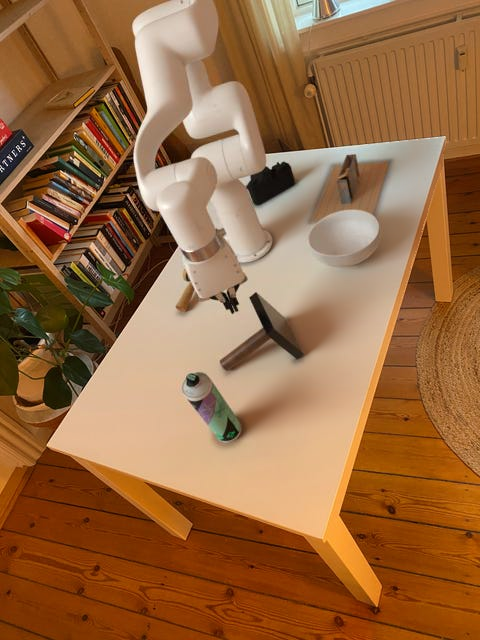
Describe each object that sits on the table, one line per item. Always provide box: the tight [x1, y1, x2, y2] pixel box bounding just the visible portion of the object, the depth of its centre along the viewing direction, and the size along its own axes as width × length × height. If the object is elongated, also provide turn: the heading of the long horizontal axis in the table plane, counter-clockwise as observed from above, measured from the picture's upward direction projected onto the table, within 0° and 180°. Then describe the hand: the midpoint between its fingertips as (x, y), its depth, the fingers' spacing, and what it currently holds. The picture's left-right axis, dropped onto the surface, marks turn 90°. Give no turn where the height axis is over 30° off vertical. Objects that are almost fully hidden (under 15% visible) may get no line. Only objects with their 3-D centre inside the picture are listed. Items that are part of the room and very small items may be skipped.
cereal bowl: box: [307, 210, 381, 268], centre depth 118 cm, size 17×17×7 cm
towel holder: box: [219, 291, 305, 372], centre depth 105 cm, size 18×12×12 cm
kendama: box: [175, 268, 196, 313], centre depth 129 cm, size 8×6×18 cm
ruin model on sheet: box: [311, 153, 391, 222], centre depth 132 cm, size 25×16×10 cm, turn 159°
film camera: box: [245, 161, 296, 206], centre depth 145 cm, size 15×10×9 cm, turn 114°
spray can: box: [181, 371, 243, 444], centre depth 92 cm, size 6×6×20 cm
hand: (233, 308), depth 104 cm, fingers closed
